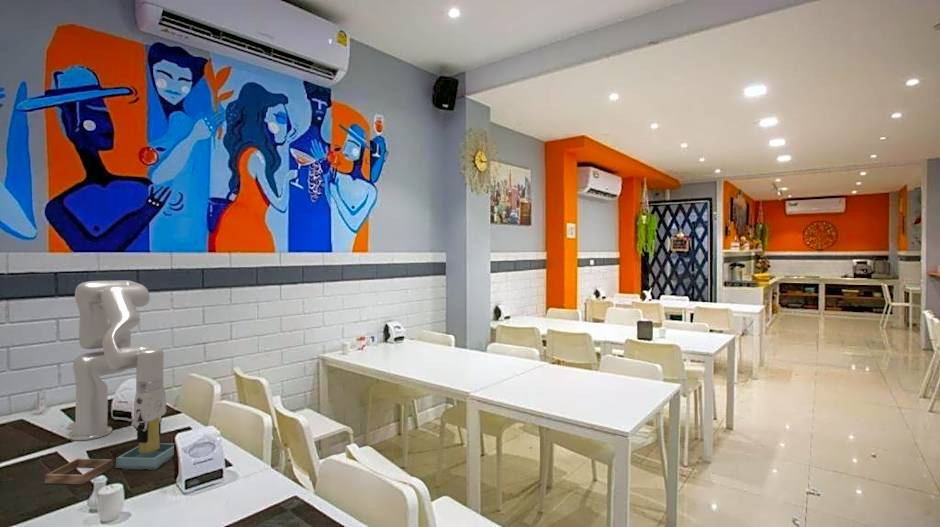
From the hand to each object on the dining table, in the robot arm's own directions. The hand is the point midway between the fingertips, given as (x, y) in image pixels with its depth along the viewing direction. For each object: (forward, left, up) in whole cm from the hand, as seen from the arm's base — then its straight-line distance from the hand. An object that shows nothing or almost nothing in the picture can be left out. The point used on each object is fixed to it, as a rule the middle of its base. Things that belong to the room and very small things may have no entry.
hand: (149, 438), depth 157 cm
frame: (-14, -11, -8) cm, 19 cm away
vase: (0, 0, -4) cm, 4 cm away
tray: (0, 0, -8) cm, 8 cm away
